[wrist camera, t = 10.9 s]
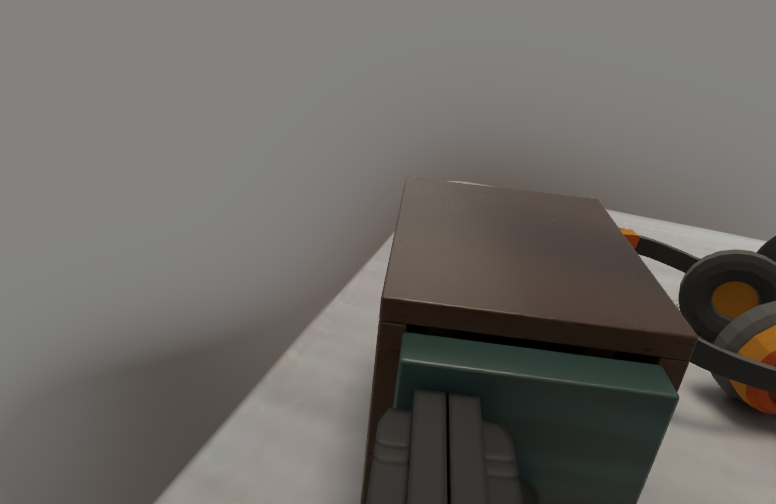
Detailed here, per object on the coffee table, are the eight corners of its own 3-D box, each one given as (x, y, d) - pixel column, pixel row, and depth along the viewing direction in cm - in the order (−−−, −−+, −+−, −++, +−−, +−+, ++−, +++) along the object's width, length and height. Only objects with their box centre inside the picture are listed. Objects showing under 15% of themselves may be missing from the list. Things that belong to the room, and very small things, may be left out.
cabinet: (596, 595, 17) (700, 337, 13) (354, 559, 17) (381, 296, 13) (545, 393, 25) (598, 199, 21) (384, 371, 26) (406, 176, 22)
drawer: (603, 662, 14) (705, 437, 11) (365, 625, 15) (394, 395, 11) (544, 409, 23) (590, 240, 20) (395, 389, 23) (416, 219, 20)
